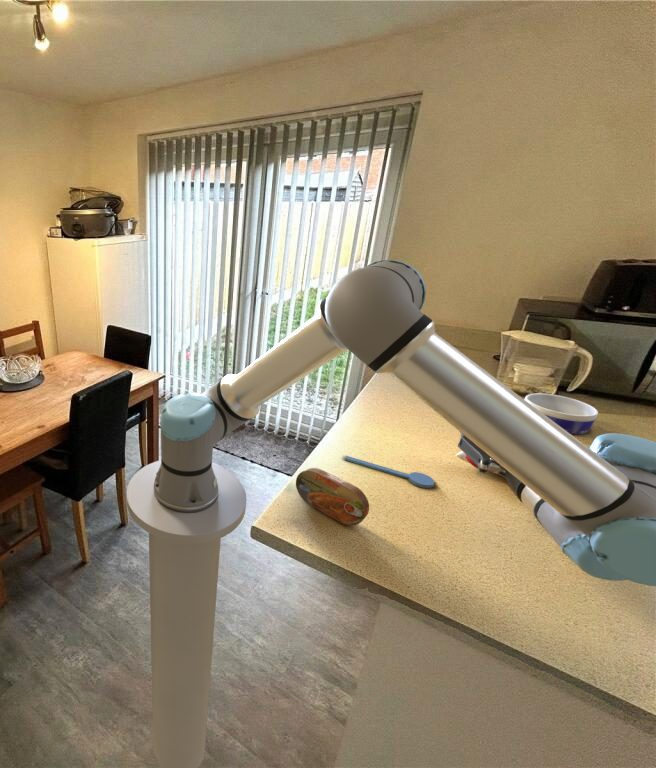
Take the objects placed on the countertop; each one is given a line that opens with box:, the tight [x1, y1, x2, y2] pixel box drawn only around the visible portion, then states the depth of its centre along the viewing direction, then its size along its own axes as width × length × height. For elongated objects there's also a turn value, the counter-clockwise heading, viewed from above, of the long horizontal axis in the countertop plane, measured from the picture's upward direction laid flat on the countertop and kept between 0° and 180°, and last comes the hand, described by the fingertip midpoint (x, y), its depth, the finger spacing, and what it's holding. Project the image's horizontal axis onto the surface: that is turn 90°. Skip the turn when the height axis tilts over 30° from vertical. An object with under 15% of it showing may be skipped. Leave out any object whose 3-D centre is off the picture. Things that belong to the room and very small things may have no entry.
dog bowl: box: [523, 392, 599, 435], centre depth 116 cm, size 15×15×6 cm
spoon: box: [344, 455, 435, 489], centre depth 96 cm, size 19×5×1 cm, turn 53°
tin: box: [295, 467, 370, 526], centre depth 83 cm, size 15×3×8 cm, turn 37°
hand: (482, 427), depth 86 cm, fingers closed on beverage can, 7 cm apart
